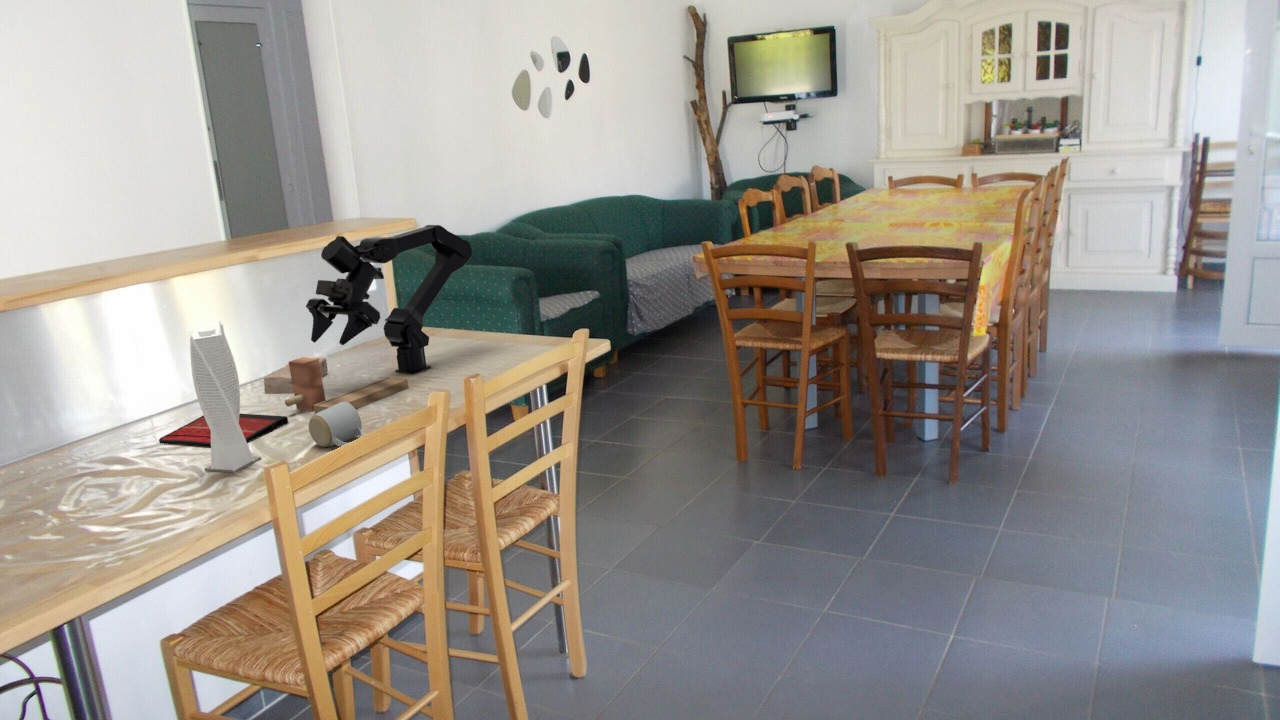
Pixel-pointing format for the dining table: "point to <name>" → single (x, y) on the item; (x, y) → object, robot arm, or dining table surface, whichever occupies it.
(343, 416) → the ceramic mug
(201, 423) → the binder
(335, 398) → the board
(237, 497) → the dining table surface
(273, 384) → the brick
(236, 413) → the skyscraper
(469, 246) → the robot arm
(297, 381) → the wooden block with peg
